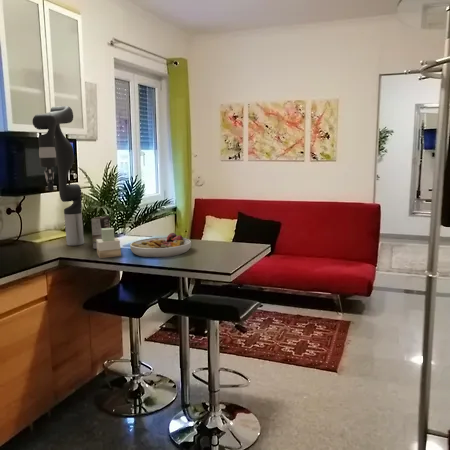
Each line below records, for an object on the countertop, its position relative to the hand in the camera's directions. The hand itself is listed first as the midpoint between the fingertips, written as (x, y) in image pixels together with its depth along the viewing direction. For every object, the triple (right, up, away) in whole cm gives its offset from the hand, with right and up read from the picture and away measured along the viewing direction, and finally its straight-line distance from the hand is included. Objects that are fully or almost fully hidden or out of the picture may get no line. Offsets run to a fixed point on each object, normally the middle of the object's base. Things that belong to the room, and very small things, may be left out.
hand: (50, 190), depth 225 cm
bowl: (+53, -31, +6) cm, 61 cm away
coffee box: (+19, -29, +23) cm, 41 cm away
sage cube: (+28, -24, +1) cm, 37 cm away
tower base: (+28, -32, +2) cm, 42 cm away
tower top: (+28, -28, +1) cm, 39 cm away
